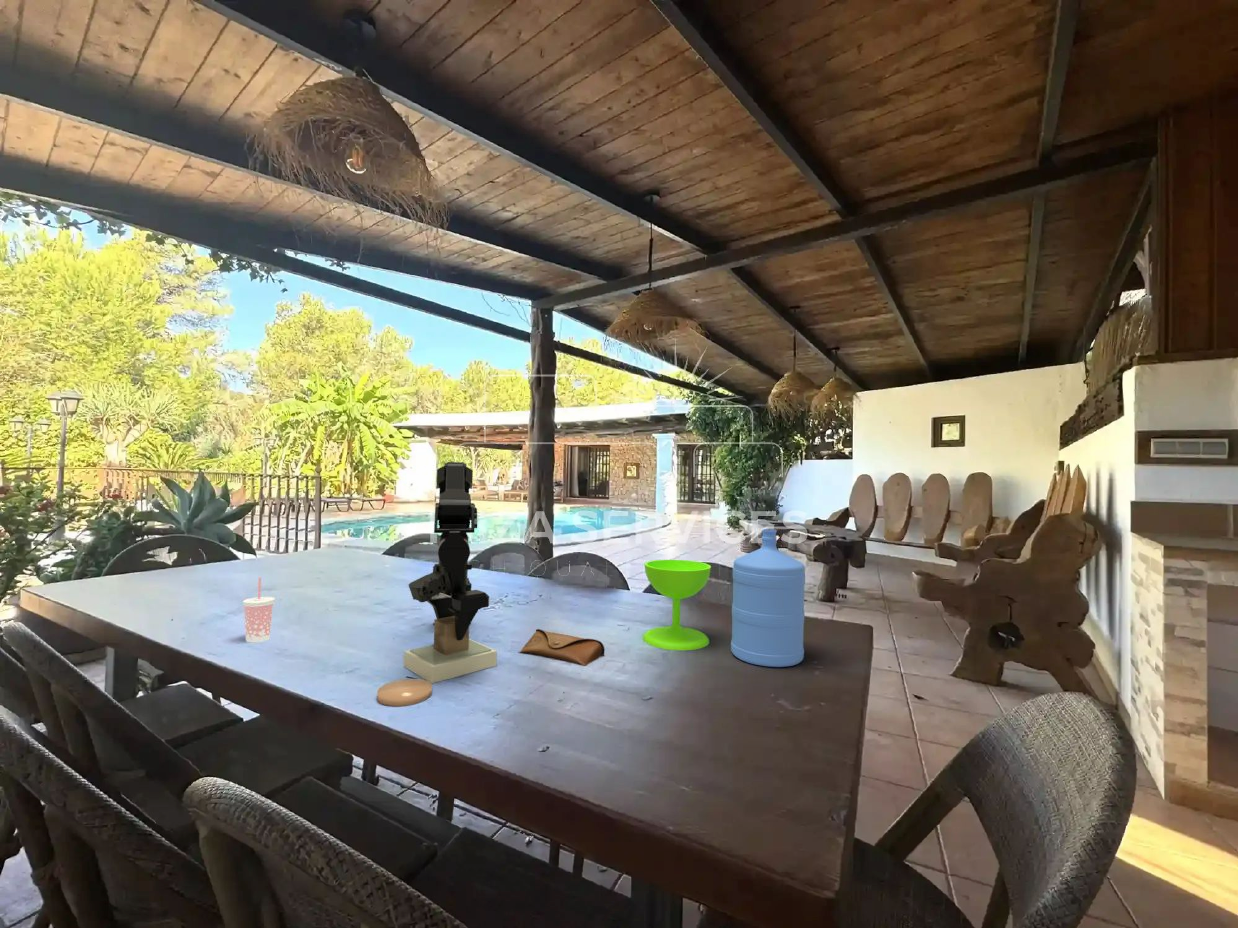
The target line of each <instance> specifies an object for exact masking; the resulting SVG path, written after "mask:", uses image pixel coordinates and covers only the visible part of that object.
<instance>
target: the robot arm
mask: <svg viewBox="0 0 1238 928" xmlns="http://www.w3.org/2000/svg"><path fill="white" fill-rule="evenodd" d="M473 477H474V476H473V469H471V468H470V467H468V466H467V463H466V462H463V461H462V462H461V461H447V462H444V464H443V465H442V466H440V467H439V468H437V469H436V489H439V491H438V492H439V496H438V497H439V498H438V499H439V500H438V502H436V503H435V504H434V527H433V529H434V530H433V533H434V534H440V536H439V538H438V539H439V541H438V551H437V555H438V563H434V565H433V566H432V572H430V573H428V574H425V575H423V576H421V577H419V578H417V579H415V580H413V581H412V582H410V583H409V584H408V588H409V591H410V594H411V597H412V599H413V600H414V601H415V600H416V601H418V602H419V603H426V602H427V603H428V604H429V605H431V606H432V608H433V611H434V614H435V617H436V618H435V619H440V618H445V617H451V616H455V629H456V638H457V640H458V641H459V640H462V639H463V638H464V636H465V634H466V632H467V630H468V628H469V629H470V625H472V621H473V620H474V618H475V617H476V616H477V613H478V611H479V610H481V609H483V608H488V607H490V596H489V595H488V594H487V592H485V591H482V590H480V589H479V590H478V589H472V582H470V578H469V577H468V571H469V570H472V569H473V564H472V563H469V558H470V554H471V549H470V545H469V539H470V538H469V535H468V533H469V534H472V533H474V534H475V529H478V508H477V507H476V504H475V503H474V502H472V497H471V494H470V489H473V484H474V483H473V479H474V478H473ZM470 526H471V527H470ZM432 626H434V622H432Z"/></svg>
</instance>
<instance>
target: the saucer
mask: <svg viewBox="0 0 1238 928" xmlns="http://www.w3.org/2000/svg"><path fill="white" fill-rule="evenodd" d="M432 694H433V683H430V682H429V681H427V680H426V679H423V678H421V679H420V678H404V679H398V680H394V681H391V682H388V683H385V684H383V685H382V686H380V687H378V689H377V692H376V701H377V702H378V703H379V704H380V705H383V706H389V707H405V706H406V707H407V706H410V705H411V706H412V705H416V704H418V703H422V702H424V701H426V700H427V699H429V698H430V697H431V696H432Z"/></svg>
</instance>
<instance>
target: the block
mask: <svg viewBox="0 0 1238 928" xmlns="http://www.w3.org/2000/svg"><path fill="white" fill-rule="evenodd" d="M433 620H434V622H433V623H434V625H433V645H434V650H436V651H438V652H440V653H442V654H444V655H449V654H453V653H458V652H462V651H466V650H469V639H470V627H469V628H468V630H467V632H466V634H465V636H464V638H463V639H462V640H459V641H458V640H457V638H456V629H455V616H451V617H445V618H440V619H437V618H435V619H433Z"/></svg>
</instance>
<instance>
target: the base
mask: <svg viewBox="0 0 1238 928" xmlns="http://www.w3.org/2000/svg"><path fill="white" fill-rule="evenodd" d="M497 656H498V651H497V650H496V649H495V648H494V649H493V648H491V647H490V646H487V645H485V644H482V643H480V642H478V641H475V640H473V639H471V638H469V650H466V651H462V652H458V653H453V654H449V655H444V654H442V653H440V652H438V651H436V650H434V644H430V645H426V646H425V645H424V646H422V647H417V648H411V649H408V650H404V651H403V667H404V668H406V669H408V670H410V671H411V672H412V673H414V674H416V675H417V676H419V677H421V679H423V680H426V681H428V682H430V683H431V684H434V683H437V682H442V681H445V680H448V679H453V678H457V677H460V676H464V675H467V674H472V673H474V672H478V671H482V670H486V669H489V668H493V667H496V666H497V664H498V663H497V661H498V657H497Z"/></svg>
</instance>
